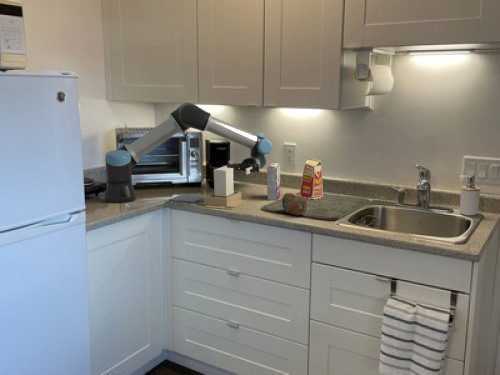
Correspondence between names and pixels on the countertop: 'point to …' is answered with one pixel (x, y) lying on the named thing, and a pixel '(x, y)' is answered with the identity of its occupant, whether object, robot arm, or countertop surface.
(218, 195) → the box
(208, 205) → the carton
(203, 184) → the countertop surface
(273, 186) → the candy bar box
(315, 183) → the milk carton
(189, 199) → the board
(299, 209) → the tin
